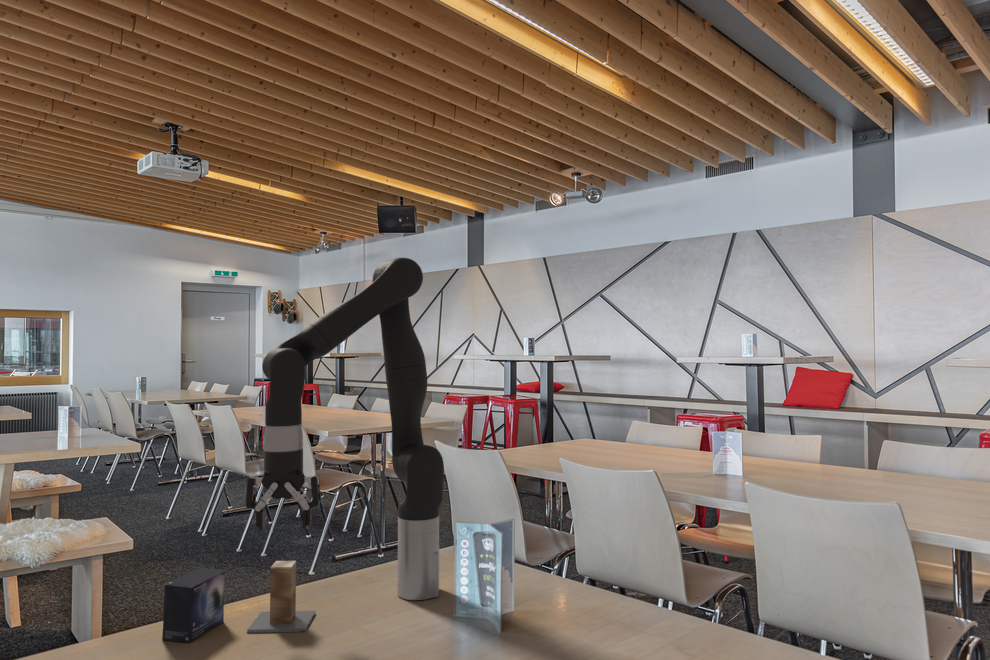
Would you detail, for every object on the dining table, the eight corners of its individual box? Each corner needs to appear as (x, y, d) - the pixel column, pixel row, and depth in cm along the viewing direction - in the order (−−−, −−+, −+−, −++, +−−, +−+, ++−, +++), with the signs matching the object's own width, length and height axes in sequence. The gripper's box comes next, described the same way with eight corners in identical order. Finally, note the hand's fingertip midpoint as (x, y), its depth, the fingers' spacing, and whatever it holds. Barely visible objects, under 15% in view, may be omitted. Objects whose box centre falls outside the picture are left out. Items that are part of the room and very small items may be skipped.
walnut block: (295, 615, 134) (296, 560, 134) (290, 623, 130) (291, 566, 130) (275, 616, 133) (276, 561, 134) (269, 624, 129) (270, 567, 130)
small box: (191, 644, 122) (192, 586, 122) (160, 641, 123) (161, 584, 124) (225, 621, 132) (226, 568, 133) (197, 619, 134) (197, 566, 134)
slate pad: (315, 613, 136) (315, 610, 136) (305, 631, 127) (305, 628, 127) (261, 614, 136) (261, 611, 136) (247, 632, 127) (247, 629, 127)
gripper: (323, 444, 137) (323, 522, 136) (253, 445, 136) (253, 524, 136) (315, 449, 130) (315, 532, 129) (241, 450, 129) (241, 534, 128)
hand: (283, 528), depth 132 cm, fingers open, 8 cm apart
